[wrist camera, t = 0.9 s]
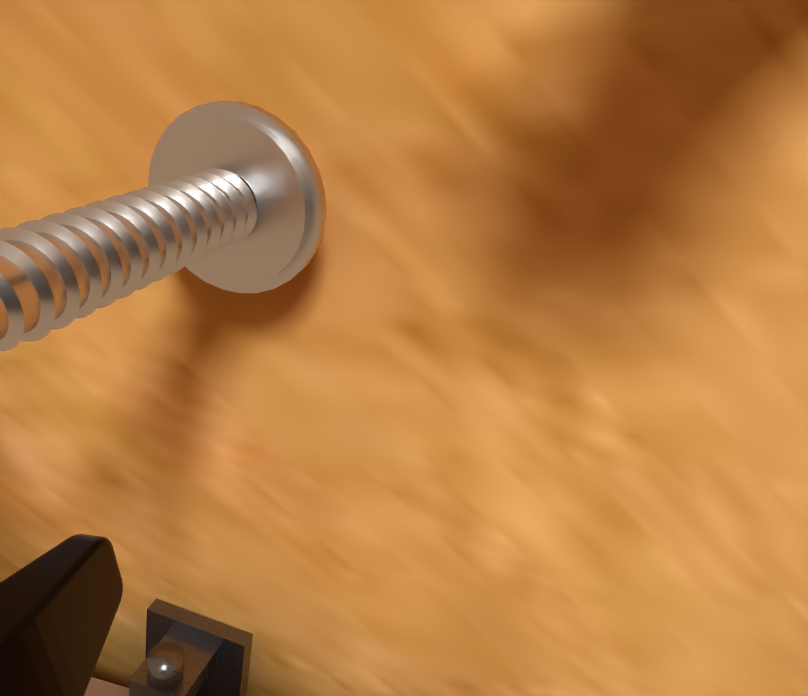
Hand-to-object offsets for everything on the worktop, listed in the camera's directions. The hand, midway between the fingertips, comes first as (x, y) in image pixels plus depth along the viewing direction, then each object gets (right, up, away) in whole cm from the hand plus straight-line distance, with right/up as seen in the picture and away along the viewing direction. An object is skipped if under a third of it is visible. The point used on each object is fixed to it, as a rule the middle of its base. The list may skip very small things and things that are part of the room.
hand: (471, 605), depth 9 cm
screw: (-5, +8, +12) cm, 15 cm away
